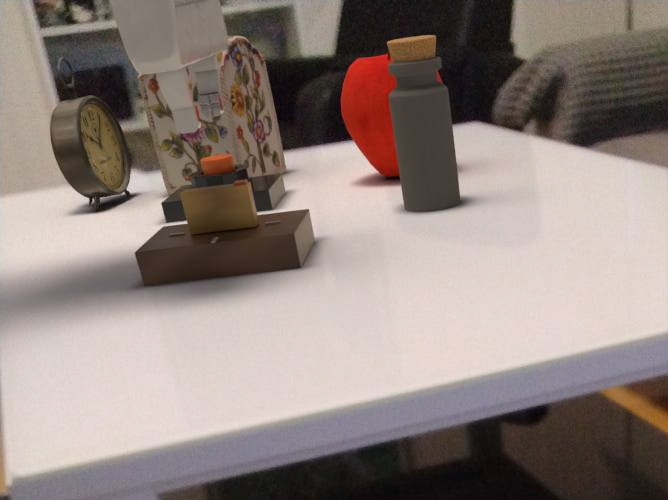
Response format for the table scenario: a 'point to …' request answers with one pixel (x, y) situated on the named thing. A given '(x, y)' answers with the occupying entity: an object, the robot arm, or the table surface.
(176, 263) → the plate
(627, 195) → the table surface
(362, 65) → the apple
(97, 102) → the alarm clock
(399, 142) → the bottle
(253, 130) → the decorative jar
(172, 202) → the button base
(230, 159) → the bell button
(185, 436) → the table surface
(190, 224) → the tan rectangular block
